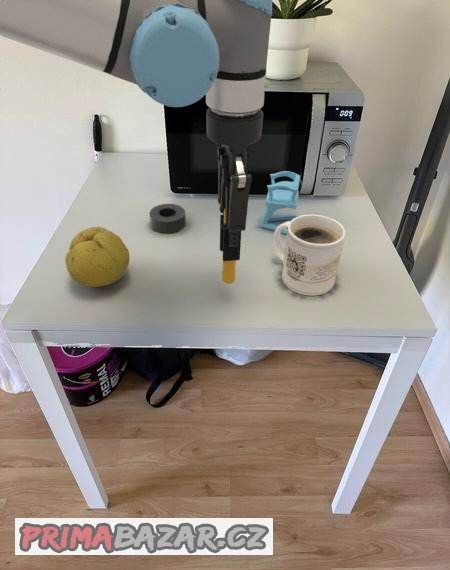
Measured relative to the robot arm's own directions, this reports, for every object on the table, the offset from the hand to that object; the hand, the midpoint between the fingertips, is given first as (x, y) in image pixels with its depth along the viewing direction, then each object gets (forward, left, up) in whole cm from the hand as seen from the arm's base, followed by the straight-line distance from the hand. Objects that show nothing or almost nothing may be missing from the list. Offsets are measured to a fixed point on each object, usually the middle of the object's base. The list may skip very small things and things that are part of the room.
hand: (229, 254), depth 73 cm
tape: (-9, +26, -9) cm, 28 cm away
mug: (+15, +4, -9) cm, 18 cm away
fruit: (-22, +8, -9) cm, 25 cm away
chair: (+15, +22, -9) cm, 28 cm away
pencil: (0, 0, -5) cm, 5 cm away
